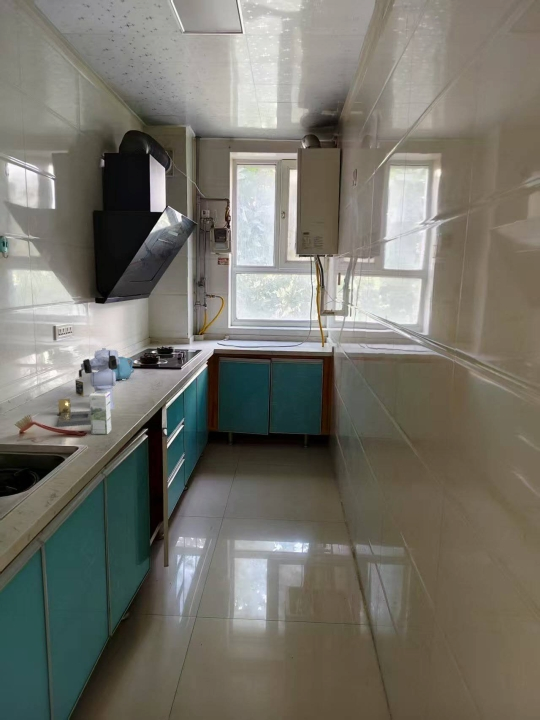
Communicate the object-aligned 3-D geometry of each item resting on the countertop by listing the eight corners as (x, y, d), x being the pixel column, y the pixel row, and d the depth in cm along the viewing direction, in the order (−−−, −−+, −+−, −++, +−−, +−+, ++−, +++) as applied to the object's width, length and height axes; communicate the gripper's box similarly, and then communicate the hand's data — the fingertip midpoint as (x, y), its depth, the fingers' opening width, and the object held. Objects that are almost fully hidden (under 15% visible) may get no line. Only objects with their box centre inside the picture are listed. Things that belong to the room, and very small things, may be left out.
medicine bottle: (75, 394, 240) (74, 369, 238) (89, 391, 245) (88, 367, 243) (83, 396, 235) (81, 371, 233) (97, 394, 240) (96, 369, 238)
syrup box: (111, 430, 185) (110, 390, 183) (107, 434, 179) (105, 394, 177) (95, 429, 185) (94, 390, 182) (90, 434, 179) (89, 394, 177)
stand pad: (57, 413, 205) (57, 413, 205) (73, 412, 207) (73, 412, 207) (56, 417, 200) (56, 416, 200) (72, 416, 202) (72, 415, 202)
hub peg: (59, 413, 205) (58, 398, 204) (71, 412, 206) (70, 398, 205) (58, 416, 201) (57, 401, 200) (70, 415, 202) (69, 400, 201)
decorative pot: (112, 375, 285) (111, 351, 283) (137, 377, 280) (136, 353, 278) (94, 381, 270) (92, 355, 268) (119, 383, 265) (118, 357, 263)
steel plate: (61, 417, 200) (61, 412, 200) (99, 415, 204) (99, 410, 204) (58, 427, 187) (58, 422, 186) (98, 424, 191) (98, 419, 191)
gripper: (81, 354, 204) (77, 360, 191) (118, 349, 207) (116, 354, 194) (84, 371, 205) (80, 378, 192) (121, 366, 208) (119, 372, 195)
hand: (98, 367), depth 193 cm, fingers open, 7 cm apart
